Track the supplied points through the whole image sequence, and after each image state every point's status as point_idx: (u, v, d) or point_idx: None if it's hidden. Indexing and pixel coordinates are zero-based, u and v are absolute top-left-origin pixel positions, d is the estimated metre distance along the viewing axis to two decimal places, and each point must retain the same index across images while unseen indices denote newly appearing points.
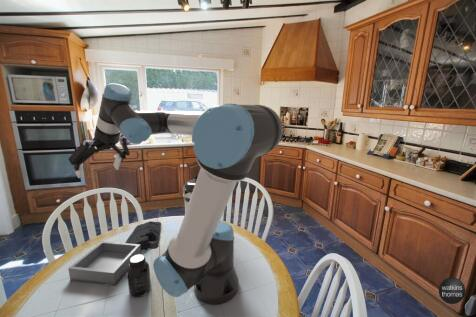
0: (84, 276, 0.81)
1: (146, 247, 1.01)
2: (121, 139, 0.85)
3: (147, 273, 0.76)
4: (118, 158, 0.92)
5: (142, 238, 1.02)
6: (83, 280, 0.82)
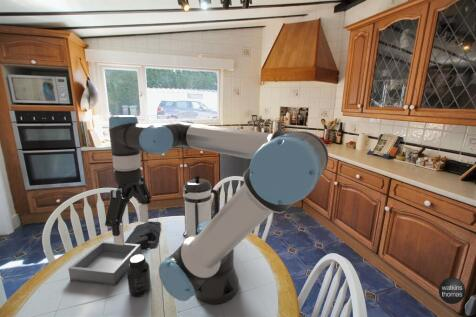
0: (84, 276, 0.81)
1: (145, 247, 1.01)
2: (139, 180, 0.76)
3: (147, 273, 0.76)
4: (143, 207, 0.80)
5: (141, 238, 1.02)
6: (83, 280, 0.82)
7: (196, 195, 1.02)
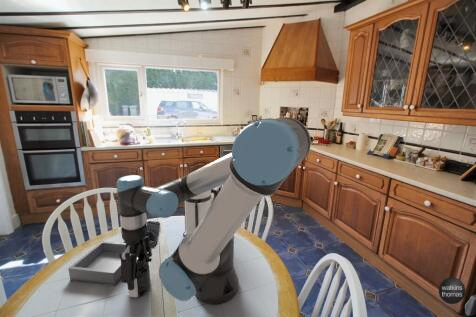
0: (84, 276, 0.81)
1: None
2: None
3: (147, 273, 0.76)
4: None
5: None
6: (83, 280, 0.82)
7: None
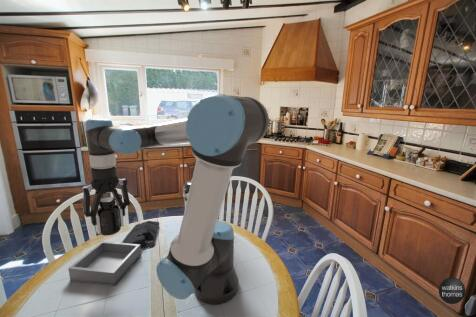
0: (84, 276, 0.81)
1: (142, 247, 1.01)
2: (121, 181, 0.83)
3: (110, 216, 0.79)
4: (119, 211, 0.84)
5: (138, 237, 1.03)
6: (83, 280, 0.82)
7: None
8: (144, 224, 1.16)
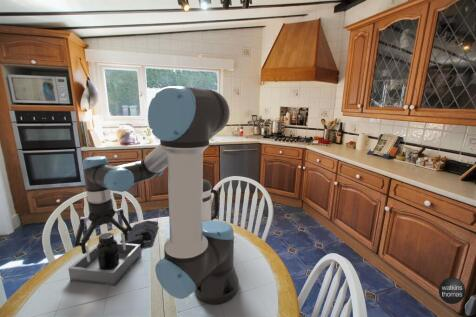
0: (84, 276, 0.81)
1: None
2: (118, 211, 0.88)
3: (108, 252, 0.85)
4: (121, 236, 0.90)
5: (136, 237, 1.03)
6: (83, 280, 0.82)
7: None
8: (143, 224, 1.16)
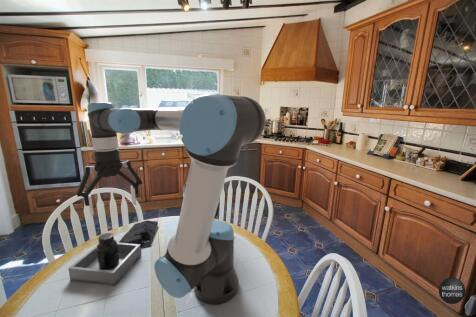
0: (84, 276, 0.81)
1: None
2: (125, 163, 0.83)
3: (108, 252, 0.85)
4: (131, 189, 0.86)
5: (135, 237, 1.03)
6: (83, 280, 0.82)
7: None
8: (142, 223, 1.16)
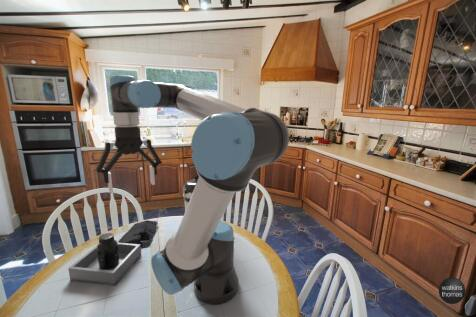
0: (84, 276, 0.81)
1: None
2: (145, 141, 0.80)
3: (108, 252, 0.85)
4: (151, 169, 0.83)
5: (134, 237, 1.03)
6: (83, 280, 0.82)
7: None
8: (142, 223, 1.17)
